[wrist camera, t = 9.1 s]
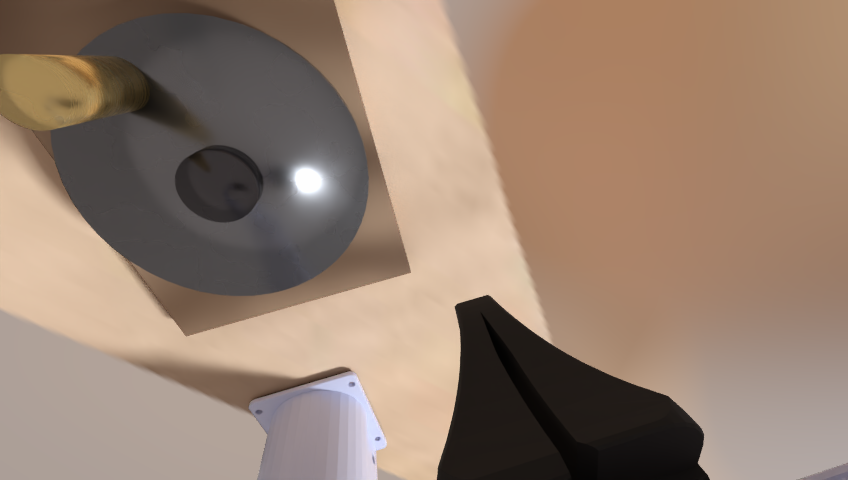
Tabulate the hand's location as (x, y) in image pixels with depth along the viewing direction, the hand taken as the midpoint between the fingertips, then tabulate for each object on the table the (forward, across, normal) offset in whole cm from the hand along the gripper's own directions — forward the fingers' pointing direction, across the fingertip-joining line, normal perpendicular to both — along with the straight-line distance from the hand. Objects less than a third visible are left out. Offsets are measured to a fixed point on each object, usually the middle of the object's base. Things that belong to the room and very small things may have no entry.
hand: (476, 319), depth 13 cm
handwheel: (+8, +9, -6) cm, 13 cm away
